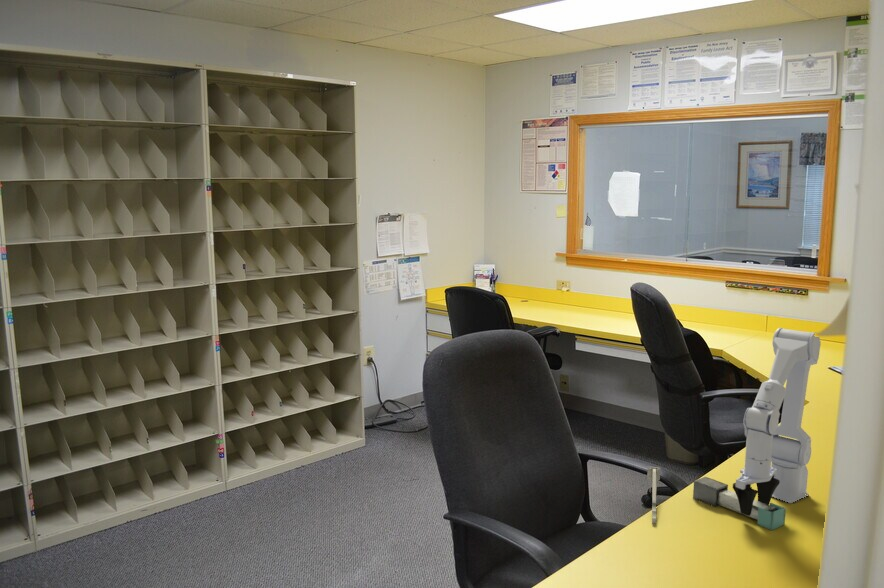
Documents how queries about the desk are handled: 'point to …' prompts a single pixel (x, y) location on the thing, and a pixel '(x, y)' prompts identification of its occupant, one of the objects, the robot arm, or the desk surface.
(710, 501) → the sleeve
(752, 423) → the robot arm
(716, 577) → the desk surface
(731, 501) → the long grey plank
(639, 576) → the desk surface
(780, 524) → the socket
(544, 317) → the desk surface
